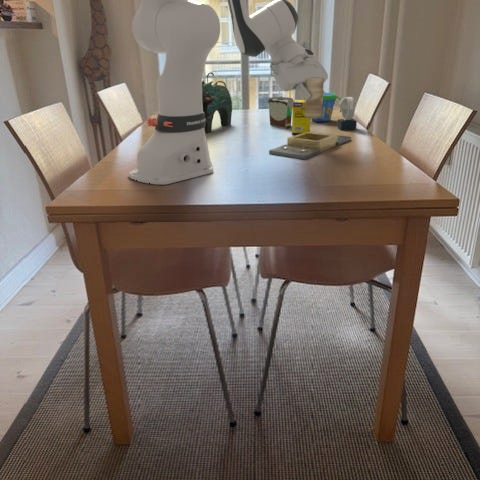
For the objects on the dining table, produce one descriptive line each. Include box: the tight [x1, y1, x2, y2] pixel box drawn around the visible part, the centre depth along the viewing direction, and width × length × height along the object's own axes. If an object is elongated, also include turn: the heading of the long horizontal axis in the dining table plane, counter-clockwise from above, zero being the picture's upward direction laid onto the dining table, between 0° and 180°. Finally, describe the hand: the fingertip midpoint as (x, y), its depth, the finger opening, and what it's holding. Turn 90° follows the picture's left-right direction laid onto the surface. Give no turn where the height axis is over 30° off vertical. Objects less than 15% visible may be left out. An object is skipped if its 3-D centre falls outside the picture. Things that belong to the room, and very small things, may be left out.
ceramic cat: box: [202, 72, 233, 134], centre depth 163 cm, size 20×6×20 cm, turn 150°
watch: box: [337, 96, 358, 131], centre depth 159 cm, size 6×8×11 cm
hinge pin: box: [305, 77, 325, 120], centre depth 131 cm, size 5×5×11 cm
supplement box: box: [291, 99, 312, 136], centre depth 153 cm, size 6×6×11 cm
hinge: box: [268, 131, 352, 160], centre depth 137 cm, size 29×12×3 cm, turn 142°
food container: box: [267, 96, 295, 129], centre depth 167 cm, size 12×6×10 cm, turn 34°
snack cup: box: [302, 92, 342, 123], centre depth 174 cm, size 16×10×10 cm
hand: (316, 96), depth 131 cm, fingers closed on hinge pin, 5 cm apart
